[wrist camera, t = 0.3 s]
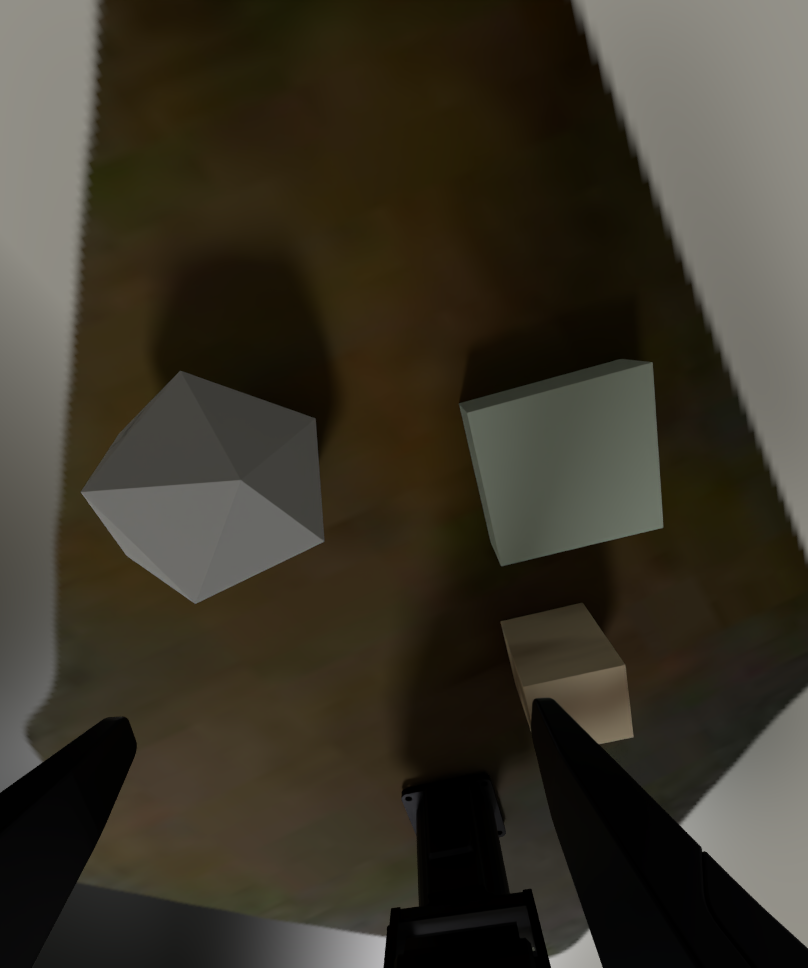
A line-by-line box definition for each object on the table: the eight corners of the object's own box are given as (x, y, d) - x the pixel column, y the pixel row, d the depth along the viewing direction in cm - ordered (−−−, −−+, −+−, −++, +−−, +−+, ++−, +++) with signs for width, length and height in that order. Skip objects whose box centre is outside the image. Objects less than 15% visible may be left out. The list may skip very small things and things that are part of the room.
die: (337, 368, 21) (107, 296, 12) (396, 539, 19) (176, 594, 10) (239, 442, 25) (19, 426, 16) (280, 586, 23) (59, 651, 15)
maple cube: (591, 665, 26) (633, 737, 22) (514, 681, 27) (539, 756, 22) (582, 601, 25) (624, 664, 20) (500, 620, 25) (523, 686, 20)
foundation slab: (630, 503, 23) (663, 527, 20) (489, 538, 23) (501, 566, 21) (617, 358, 20) (652, 362, 17) (457, 402, 21) (467, 412, 18)
